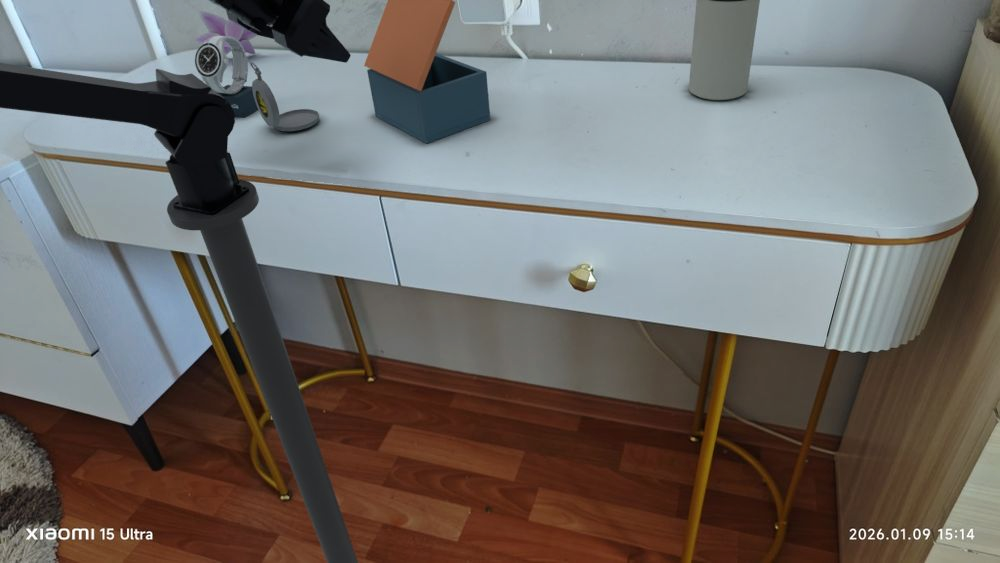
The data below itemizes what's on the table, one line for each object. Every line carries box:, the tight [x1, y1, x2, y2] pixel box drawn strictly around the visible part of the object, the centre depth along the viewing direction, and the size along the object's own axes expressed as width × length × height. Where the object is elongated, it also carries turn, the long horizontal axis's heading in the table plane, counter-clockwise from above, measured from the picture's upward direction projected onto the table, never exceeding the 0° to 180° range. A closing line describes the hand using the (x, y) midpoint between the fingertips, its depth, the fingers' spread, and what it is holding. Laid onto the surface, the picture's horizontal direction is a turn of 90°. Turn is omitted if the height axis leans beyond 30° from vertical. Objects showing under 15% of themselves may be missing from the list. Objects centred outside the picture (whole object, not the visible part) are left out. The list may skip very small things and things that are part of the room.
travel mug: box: [688, 0, 761, 101], centre depth 92 cm, size 8×8×18 cm
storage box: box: [366, 52, 491, 144], centre depth 95 cm, size 11×14×7 cm
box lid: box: [363, 0, 456, 91], centre depth 89 cm, size 11×14×1 cm
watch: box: [194, 36, 259, 118], centre depth 102 cm, size 6×8×11 cm
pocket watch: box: [249, 61, 320, 132], centre depth 96 cm, size 8×8×10 cm
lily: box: [192, 11, 259, 58], centre depth 123 cm, size 12×12×10 cm
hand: (332, 51), depth 84 cm, fingers open, 8 cm apart
